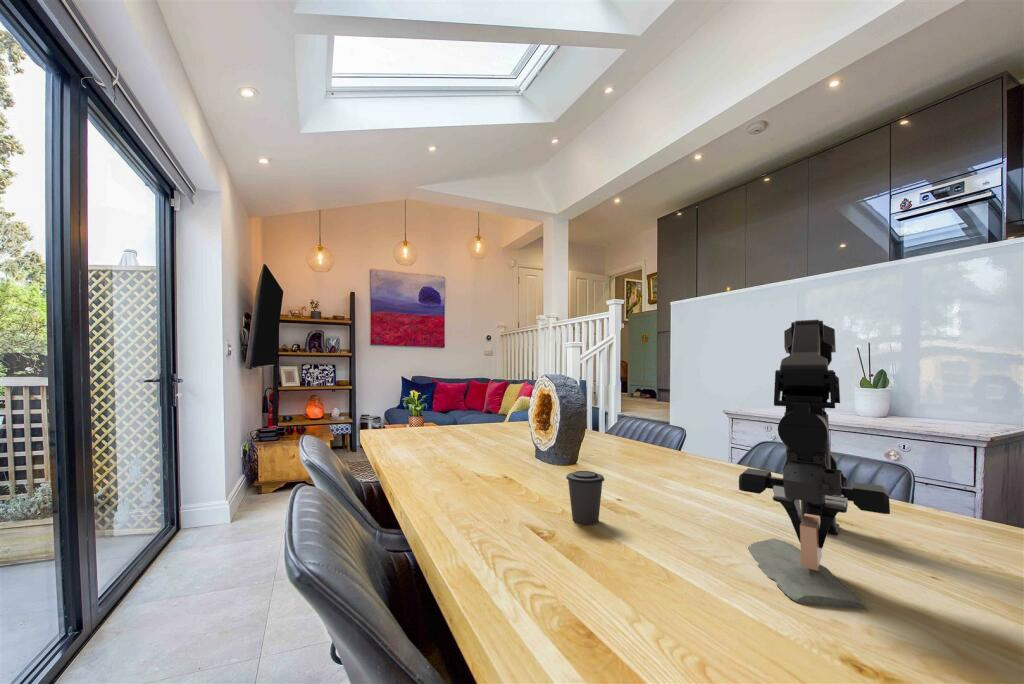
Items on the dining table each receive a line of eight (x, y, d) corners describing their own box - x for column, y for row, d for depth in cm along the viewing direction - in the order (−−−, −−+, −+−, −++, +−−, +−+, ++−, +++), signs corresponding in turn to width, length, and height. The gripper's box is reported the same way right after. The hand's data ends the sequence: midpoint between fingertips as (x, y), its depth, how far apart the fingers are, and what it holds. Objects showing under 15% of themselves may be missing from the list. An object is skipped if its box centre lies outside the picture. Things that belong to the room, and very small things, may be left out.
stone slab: (795, 617, 57) (876, 613, 56) (791, 596, 58) (872, 591, 56) (734, 550, 79) (791, 546, 78) (731, 535, 80) (788, 531, 78)
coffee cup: (608, 528, 85) (608, 477, 86) (568, 527, 86) (567, 476, 86) (601, 514, 93) (600, 468, 94) (564, 514, 94) (563, 467, 94)
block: (801, 566, 63) (799, 525, 64) (806, 551, 69) (804, 513, 69) (817, 570, 62) (816, 528, 63) (821, 554, 68) (820, 516, 68)
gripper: (729, 443, 67) (732, 546, 66) (888, 459, 55) (895, 585, 54) (744, 435, 75) (747, 526, 74) (885, 447, 63) (891, 555, 62)
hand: (811, 545), depth 66 cm, fingers closed on block, 2 cm apart
